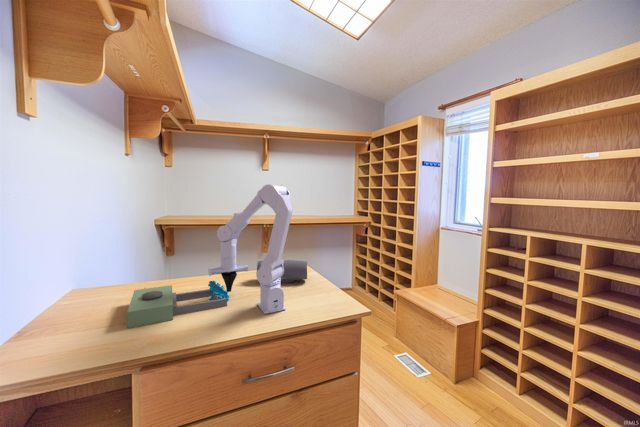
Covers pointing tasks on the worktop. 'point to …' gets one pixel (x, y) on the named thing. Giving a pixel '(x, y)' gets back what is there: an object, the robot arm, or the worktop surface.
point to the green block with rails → (165, 305)
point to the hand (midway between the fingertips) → (228, 291)
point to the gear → (218, 291)
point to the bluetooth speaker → (292, 270)
